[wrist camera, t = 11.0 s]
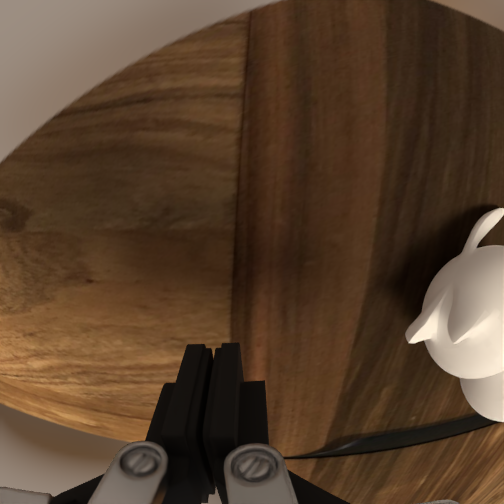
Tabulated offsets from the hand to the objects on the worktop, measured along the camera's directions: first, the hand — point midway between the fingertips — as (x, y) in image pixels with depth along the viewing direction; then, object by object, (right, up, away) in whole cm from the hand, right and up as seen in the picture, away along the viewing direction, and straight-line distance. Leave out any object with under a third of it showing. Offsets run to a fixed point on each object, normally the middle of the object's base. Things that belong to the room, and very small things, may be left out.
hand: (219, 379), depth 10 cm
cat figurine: (+15, +1, +6) cm, 16 cm away
